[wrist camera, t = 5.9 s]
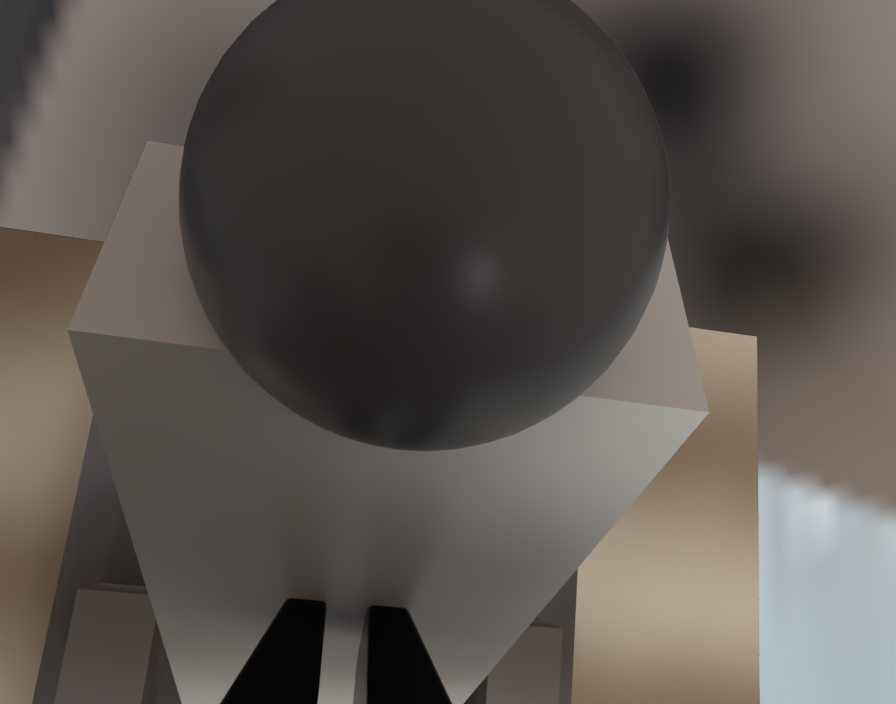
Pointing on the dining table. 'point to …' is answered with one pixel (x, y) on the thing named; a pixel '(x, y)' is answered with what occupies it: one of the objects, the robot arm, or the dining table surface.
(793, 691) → the dining table surface
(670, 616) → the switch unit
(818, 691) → the dining table surface
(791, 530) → the dining table surface
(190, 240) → the lever
